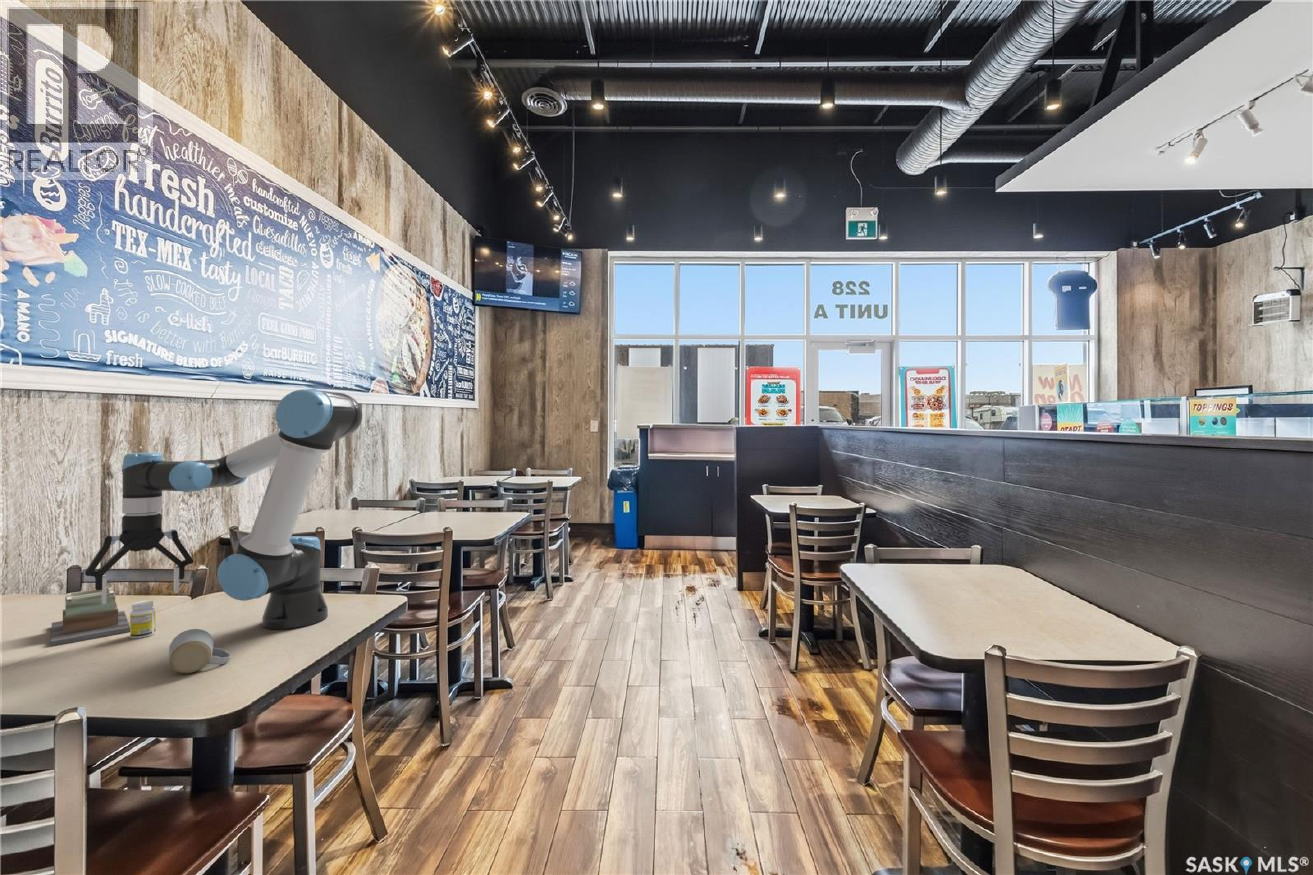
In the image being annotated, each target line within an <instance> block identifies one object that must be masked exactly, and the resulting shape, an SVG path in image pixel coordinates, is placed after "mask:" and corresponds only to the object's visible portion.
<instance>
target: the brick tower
mask: <svg viewBox="0 0 1313 875" xmlns="http://www.w3.org/2000/svg"><path fill="white" fill-rule="evenodd" d="M65 594H66V596H65V603H64V604H65V605H64V606H65V607H64V608H65V609H62V620H61V621H60V620H59V621H54V622H51V630H50V631H51V632H50V636H51V638H50V643H51V644H50V645H51V646H50V647H56V646H61V645H66V644H71V643H77V642H76V641H78V642H82V641H88V640H89V641H90V640H94V639H98V638H103V637H102V636H105V637H110V636H115V634H116V635H120V634H119V633H121V634H125V633H124V632H126V633H131V631H130V623H129V621H128V618H127V615H126V612H125V610H121V611H119V608H118V605H117V603H116V602H117V601H116V595H115V591H114V588H113V586H110V587H107V598H106V604H102V590H96V589H95V588H94V589H89V590H80V591H75V592H74V591H73V592H66V593H65Z"/></svg>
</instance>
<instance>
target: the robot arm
mask: <svg viewBox="0 0 1313 875" xmlns="http://www.w3.org/2000/svg"><path fill="white" fill-rule="evenodd" d="M275 408H276V409H275V416H274V417H275V419H274V420H275V421H276V422H277V424H276V425H277V427H278V429H279V430H277V431H276V432H274V433H272V434H269V435H268V436H264V437H263V438H261V439H258V440H256V441H254V442H251V443H250V444H247V445H246V446H243V447H241V448H239V449H237V450H235V451H232V452H230V453H228V454H226V455H224V456H221V457H220V458H216V459H205V460H184V461H179V460H177V461H164V459H163V454H162V453H160V452H130V453H125V455H124V456H123V461H122V469H121V473H122V494H121V495H122V498H121V502H122V503H121V505H122V506H121V507H122V508H121V513H122V514H124V515H122V517H121V533H120V535H110V534H106V535H105V536H104V537H103V544H102V545H101V547H100V549H99V550H98V552H97V553H96V555H95V556H94V557H93V558H92V560H91V562H90V563H89V565H88V566H87V568H86V569H85V571H84V573H85V576H86V577H94V579H95V580H94V581H95V582H94V586H95V587H94V589H96V590H102V604H106V598H107V588H108V586H107V585H108V582H107V580H108V576H107V574H106V573H107V572H108V571H109V570H110V569H111V568H112V567H113V566H114V565H115V564H116V563H117V562H119V561H120V560H121V558H122V557H124V556H126V555H127V553H128V552H129V551H132V552H135V553H136V552H141V551H151V550H152V549H154V548H155V549H156V550H158V551H159V552H160V553H161V554H163V555H164V556H165V557H167V558H168V559H169V560H170V561H171V562H173V563H174V564H176V566H173V593H174V594H179V593H180V591H179V590H180V580H184V578H185V568H186V566H187V565H192V564H193V563H194V559H193V558H192V556H191V555H190V553H189V552H188V550H187V549H186V547H185V546H184V544H183V543H182V542H181V540H180V539H179V533H178V531H177V529H171V530H168V531H163V524H162V522H163V514H161V513H160V512H162V511H163V491H164V492H167V491H169V492H170V491H171V492H183V493H189V492H191V493H192V492H193V493H194V492H201V491H203V490H205V489H211V488H212V489H213V488H223V487H233V486H237V485H240V484H243V483H244V482H245V481H246V479H247V478H249V476H252V475H254V474H257V473H258V472H260V471H263V470H266V469H267V468H270V467H272V466H273V465H274V467H273V470H272V474H271V476H270V479H269V480H268V484H267V487H266V490H265V492H264V496H263V497H262V500H261V504H260V506H259V509H258V511H257V513H256V518H255V519H254V522H253V525H252V528H251V531H250V533H249V534H247V535H245V536H243V537H241V538H240V540H239V542H238V544H237V548H236V551H235V553H234V554H233V553H232V554H231V555H229V556H227V557H226V558H224V559H222V561H221V562H220V564H219V565H218V569H217V575H216V576H217V581H218V585H220V587H221V590H222V591H223V592H224V594H226V595H227V596H228V597H230V598H231V599H233V600H236V601H243V602H246V601H250V600H253V599H259V598H261V597H264V596H266V595H268V594H269V598H268V601H267V603H266V606H265V609H264V612H263V614H262V618H261V620H262V621H261V622H262V625H261V626H262V627H263V628H265V629H269V630H287V629H295V628H296V629H297V628H301V627H306V626H310V625H314V624H317V623H319V622H322V621H324V620H325V619H327V618H328V616H329V614H328V612H329V609H328V605H327V603H326V601H325V600H326V599H325V598H324V594H323V591H322V590H321V552H322V548H321V541H320V539H319V538H318V537H317V536H308V535H307V536H306V535H304V536H303V535H298V536H297V535H295V536H294V535H293V533H294V530H295V527H296V524H297V522H298V520H299V516H300V514H301V512H302V510H303V506H304V503H305V500H306V498H307V495H308V492H309V490H310V486H311V484H312V481H313V478H314V476H315V473H316V470H317V468H318V464H319V462H320V459H321V456H322V455H323V454H325V453H326V452H329V451H331V449H332V447H333V445H334V442H337V441H338V440H341V439H343V438H345V437H348V436H349V435H352V434H353V433H355V432H356V431H357V430H358V429H359V427H360V425H361V423H362V420H363V410H362V407H361V406H360V404H359V402H358V401H357V400H356V399H355V398H354V397H352V396H350V395H349V394H346V393H344V392H333V391H328V390H327V391H326V390H319V389H315V388H309V389H306V388H305V389H297V390H294V391H292V392H289V393H287V394H286V395H285V396H284V397H282V399H280V400H279V403H278V404H277V406H276V407H275ZM292 535H293V536H292ZM164 537H166V538H167V539H169V540H171V541H172V543H173V544H174V545H175V547H176V549H177V550H178V551H179V553H180V554H181V556H182V557H183V558H184V559H183V560H181V559H180V558H179V557H178V556H176V555H175V554H174V553H172V552H171V551H170V550H169V549H167V547H165V546H164V545H162V543H160V542H161V541H162V539H163V538H164ZM117 541H119V542H121V544H122V546H121V547H120V548H119V550H118V551H116V552H115V554H113V555H112V556H111V557H110V558H109V559H108V560H107V561H106V562H104V564H103V565H102V566H101V567H99V569H97V567H98V566H99V564H101V561H102V560H103V559H104V557H105V555H106V554H107V552H108V551H109V549H110V548H111V546H112V545H115V543H116V542H117ZM96 569H97V570H96Z"/></svg>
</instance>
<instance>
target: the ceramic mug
mask: <svg viewBox="0 0 1313 875" xmlns="http://www.w3.org/2000/svg"><path fill="white" fill-rule="evenodd" d="M168 647H169V650H168V652H169V653H168V663H169V665H170V668H171V669H172V670H174V671H175V672H176V673H180V674H192V673H196V672H198V671H200V670H201V669H203V668H204V667H206V666H207V664H212V665H225V664H227V663H229V661H230V659H231V656H232V654H231V653H230V652H228V651H227V650H225V649H222V648H219V647H215V646H214V638H213V636H212V635H211V633H209V632H208V631H206V630H204V629H199V628H191V629H186V630H184V631H181V632H180V633H178V634H177V635H176V636H175V637H174V638H173V639H172V641H171V642H170V644H169V646H168Z"/></svg>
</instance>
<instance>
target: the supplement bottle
mask: <svg viewBox="0 0 1313 875" xmlns="http://www.w3.org/2000/svg"><path fill="white" fill-rule="evenodd" d="M131 610H132V611H131V612H130V615H129V617H130V618H129V619H130V623H129V625H130V638H131V639H142V637H144V638H147V637H146V636H148V637H151V636H153V635H155V634H156V609H155V608H154V601H153V600H150V599H149V600H140V601H136V602H133V603H132V604H131Z"/></svg>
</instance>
